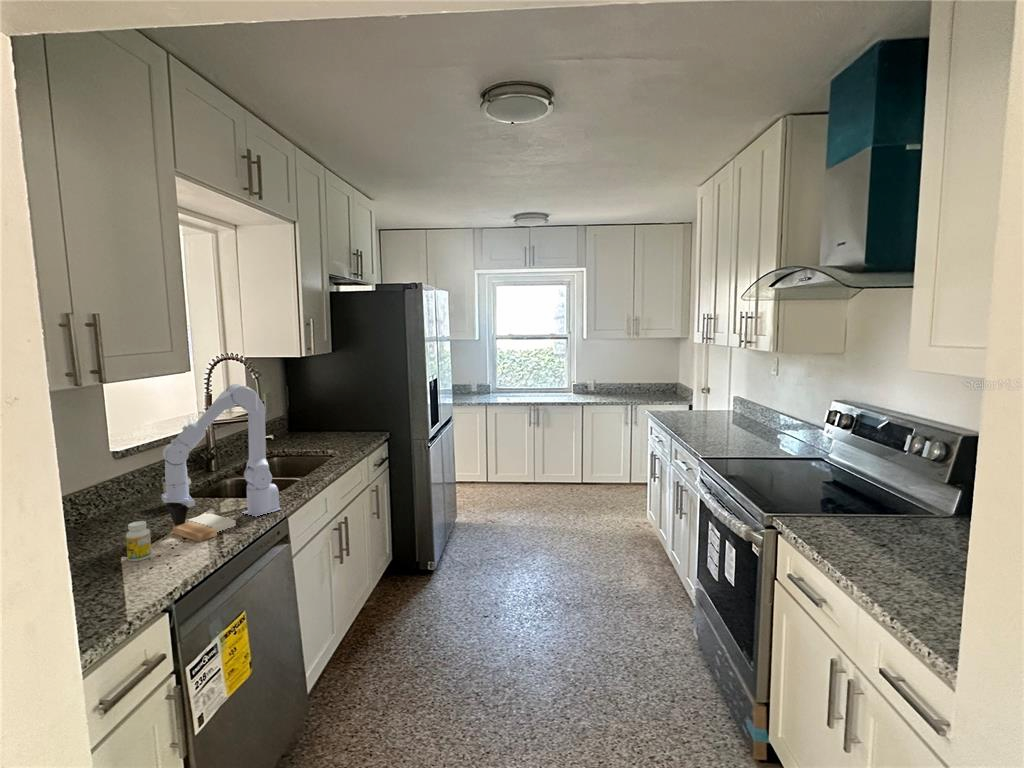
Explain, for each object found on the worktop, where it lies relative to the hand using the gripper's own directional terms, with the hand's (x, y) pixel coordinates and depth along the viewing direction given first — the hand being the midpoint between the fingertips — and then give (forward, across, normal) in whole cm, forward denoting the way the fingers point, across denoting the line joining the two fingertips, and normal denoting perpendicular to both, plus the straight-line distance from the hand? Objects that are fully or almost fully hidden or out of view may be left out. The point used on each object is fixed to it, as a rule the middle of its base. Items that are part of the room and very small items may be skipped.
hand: (179, 526), depth 163 cm
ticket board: (+1, +5, +6) cm, 8 cm away
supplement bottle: (+2, +11, -17) cm, 20 cm away
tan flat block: (+1, +8, 0) cm, 8 cm away
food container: (+2, -25, +14) cm, 29 cm away
